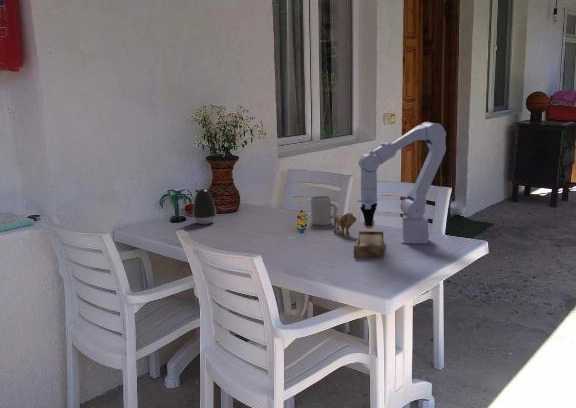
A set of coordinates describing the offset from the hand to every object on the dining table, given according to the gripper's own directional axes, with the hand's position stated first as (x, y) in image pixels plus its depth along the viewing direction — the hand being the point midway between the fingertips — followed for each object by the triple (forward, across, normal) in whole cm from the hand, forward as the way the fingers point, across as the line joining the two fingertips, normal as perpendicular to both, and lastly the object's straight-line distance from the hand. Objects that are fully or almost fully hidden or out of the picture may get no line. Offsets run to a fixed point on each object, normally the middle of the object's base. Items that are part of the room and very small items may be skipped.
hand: (369, 224), depth 216 cm
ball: (0, 0, 0) cm, 0 cm away
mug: (+8, -31, -20) cm, 38 cm away
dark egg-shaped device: (+8, -30, -74) cm, 80 cm away
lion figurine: (+8, -16, -11) cm, 21 cm away
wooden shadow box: (+8, +7, +1) cm, 10 cm away
